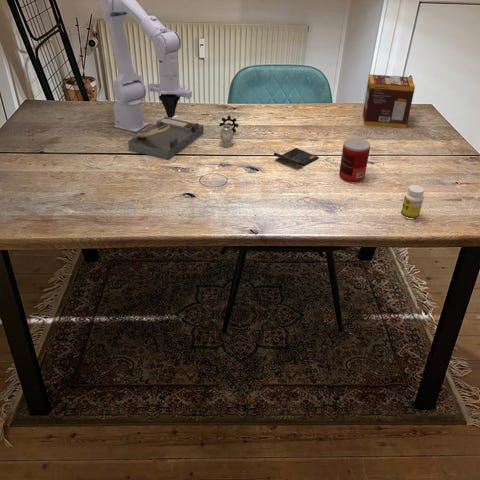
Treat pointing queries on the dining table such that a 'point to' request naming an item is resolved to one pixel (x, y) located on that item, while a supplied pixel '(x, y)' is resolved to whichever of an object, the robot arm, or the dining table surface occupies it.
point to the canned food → (354, 159)
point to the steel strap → (177, 124)
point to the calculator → (298, 157)
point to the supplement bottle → (413, 201)
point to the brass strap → (154, 131)
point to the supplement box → (388, 101)
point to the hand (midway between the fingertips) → (170, 116)
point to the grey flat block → (165, 140)
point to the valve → (227, 131)
